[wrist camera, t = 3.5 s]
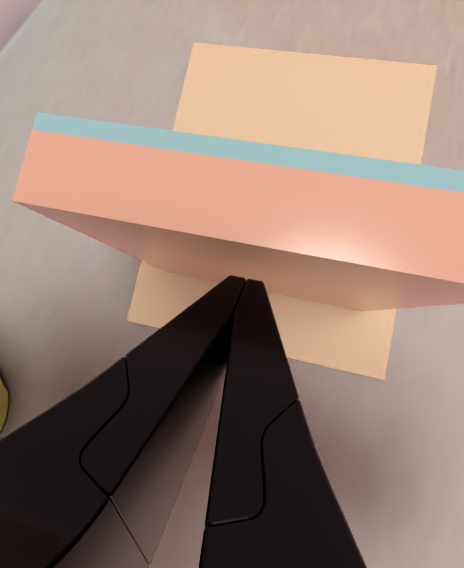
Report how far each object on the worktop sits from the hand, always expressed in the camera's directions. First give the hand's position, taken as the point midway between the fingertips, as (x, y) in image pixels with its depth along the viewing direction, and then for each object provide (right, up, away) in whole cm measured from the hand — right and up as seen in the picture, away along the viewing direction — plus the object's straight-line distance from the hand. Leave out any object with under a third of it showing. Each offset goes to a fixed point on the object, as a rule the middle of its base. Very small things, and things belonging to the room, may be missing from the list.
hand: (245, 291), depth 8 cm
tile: (+1, +1, +8) cm, 8 cm away
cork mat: (+2, +5, +9) cm, 10 cm away
